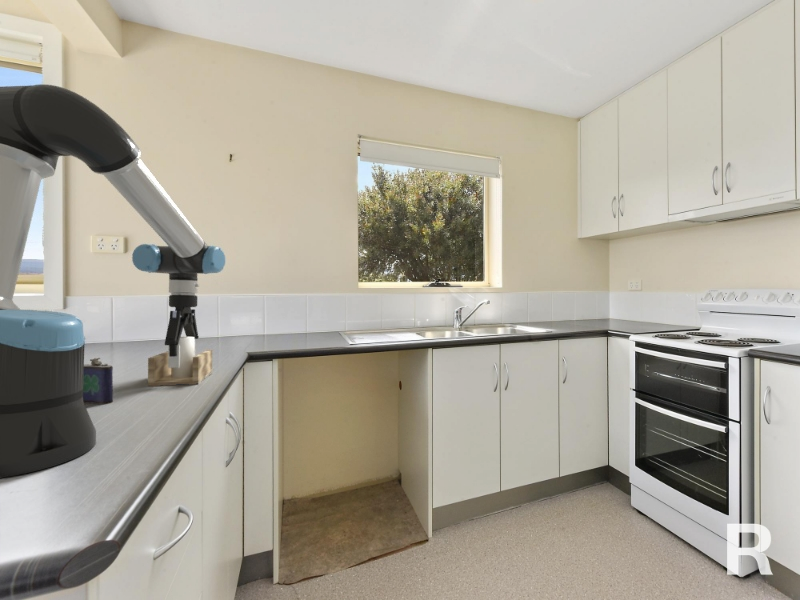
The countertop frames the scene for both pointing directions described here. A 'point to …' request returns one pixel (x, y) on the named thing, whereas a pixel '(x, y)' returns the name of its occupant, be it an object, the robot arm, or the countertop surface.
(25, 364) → the robot arm
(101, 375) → the flask
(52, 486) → the countertop surface
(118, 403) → the countertop surface
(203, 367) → the holder
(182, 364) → the roll
